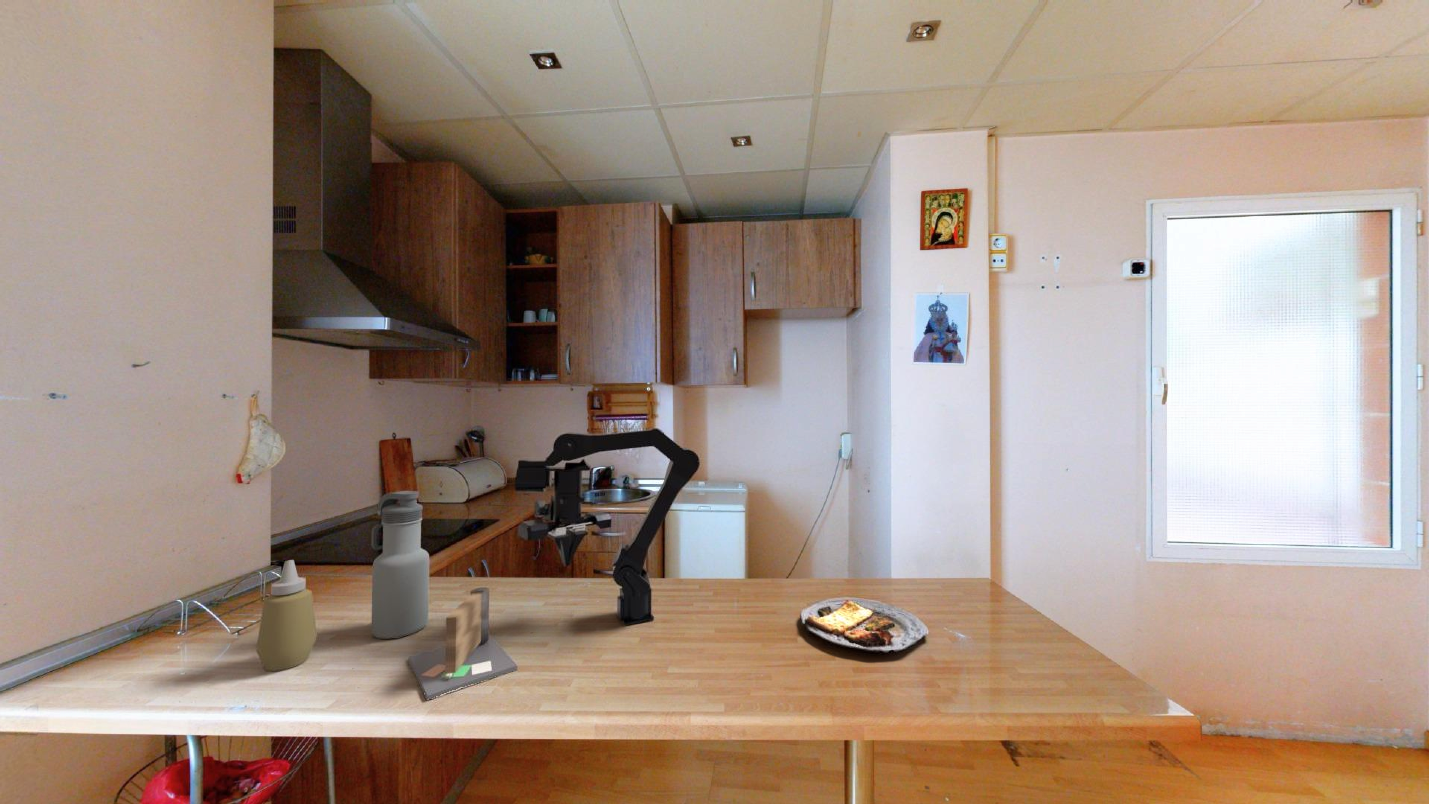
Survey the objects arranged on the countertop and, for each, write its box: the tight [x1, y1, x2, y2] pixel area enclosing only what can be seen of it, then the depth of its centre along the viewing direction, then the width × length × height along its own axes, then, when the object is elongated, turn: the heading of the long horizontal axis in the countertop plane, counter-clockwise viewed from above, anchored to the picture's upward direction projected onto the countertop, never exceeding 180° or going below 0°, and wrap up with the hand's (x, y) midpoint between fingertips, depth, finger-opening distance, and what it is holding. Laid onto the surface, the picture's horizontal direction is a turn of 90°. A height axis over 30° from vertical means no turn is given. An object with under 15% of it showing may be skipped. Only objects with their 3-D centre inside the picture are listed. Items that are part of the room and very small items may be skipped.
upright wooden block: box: [445, 587, 490, 679], centre depth 85 cm, size 15×3×9 cm, turn 5°
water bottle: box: [370, 490, 430, 640], centre depth 98 cm, size 10×10×28 cm
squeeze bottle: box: [255, 559, 318, 672], centre depth 85 cm, size 8×8×18 cm
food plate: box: [799, 597, 929, 655], centre depth 99 cm, size 25×23×4 cm
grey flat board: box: [407, 633, 518, 700], centre depth 84 cm, size 16×14×1 cm
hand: (566, 565), depth 101 cm, fingers closed
